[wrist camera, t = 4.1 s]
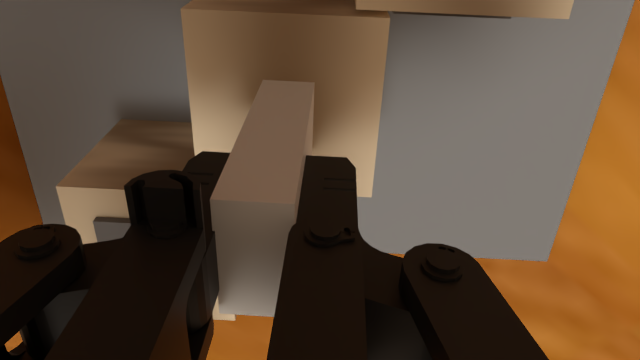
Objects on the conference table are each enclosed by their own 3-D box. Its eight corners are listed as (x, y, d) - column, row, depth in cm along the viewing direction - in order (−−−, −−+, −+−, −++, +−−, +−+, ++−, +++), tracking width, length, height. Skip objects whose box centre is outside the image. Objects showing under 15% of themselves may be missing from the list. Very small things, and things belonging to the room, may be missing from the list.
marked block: (140, 232, 26) (86, 323, 20) (120, 119, 23) (51, 190, 17) (256, 238, 26) (234, 331, 20) (253, 125, 23) (225, 199, 17)
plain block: (230, 120, 22) (198, 188, 17) (223, -23, 20) (180, 8, 14) (364, 126, 22) (371, 197, 17) (376, -15, 19) (390, 18, 14)
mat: (52, 228, 27) (46, 235, 26) (-85, -263, 17) (-99, -268, 16) (542, 253, 26) (547, 261, 26) (701, -231, 16) (713, -236, 16)
